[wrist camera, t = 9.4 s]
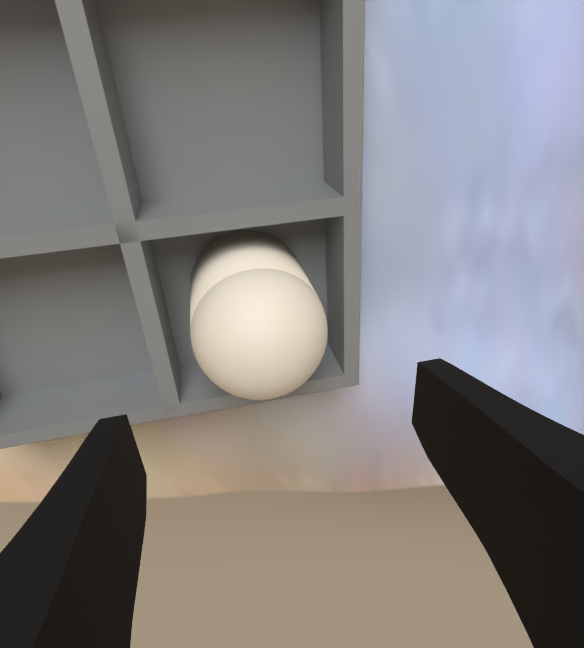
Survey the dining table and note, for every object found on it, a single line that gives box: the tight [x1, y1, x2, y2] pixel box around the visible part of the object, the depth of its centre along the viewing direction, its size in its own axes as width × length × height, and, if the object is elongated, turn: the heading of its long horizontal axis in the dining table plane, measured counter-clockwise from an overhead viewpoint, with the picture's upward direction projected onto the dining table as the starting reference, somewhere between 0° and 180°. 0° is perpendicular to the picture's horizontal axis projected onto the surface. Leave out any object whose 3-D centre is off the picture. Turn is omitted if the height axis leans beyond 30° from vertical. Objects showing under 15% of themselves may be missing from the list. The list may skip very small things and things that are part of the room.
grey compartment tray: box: [0, 0, 365, 449], centre depth 13 cm, size 15×22×3 cm
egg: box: [190, 231, 328, 400], centre depth 15 cm, size 4×4×6 cm
